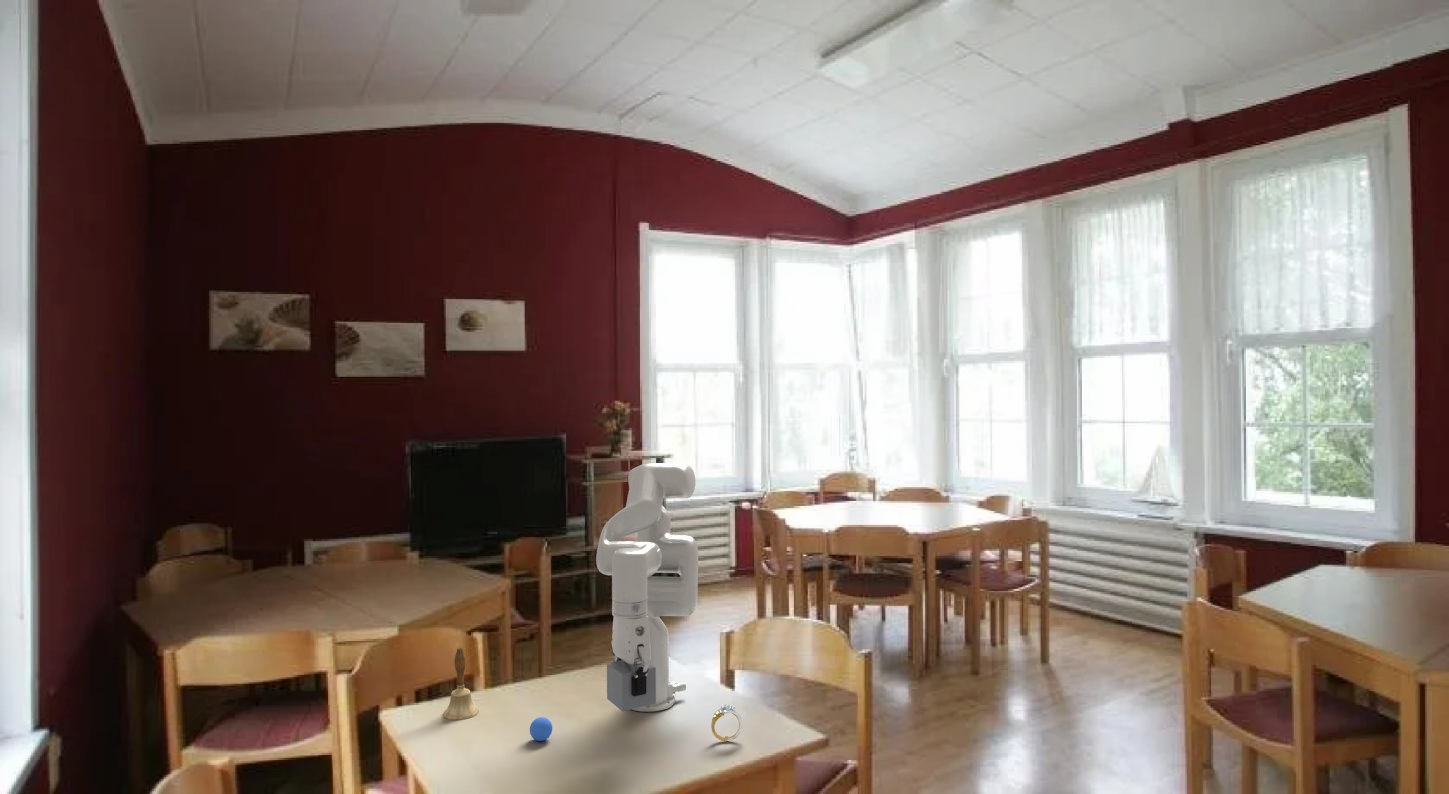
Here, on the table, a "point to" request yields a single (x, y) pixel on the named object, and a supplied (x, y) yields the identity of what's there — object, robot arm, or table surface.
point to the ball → (541, 729)
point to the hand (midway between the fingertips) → (630, 688)
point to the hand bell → (460, 694)
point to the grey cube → (628, 686)
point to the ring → (724, 711)
